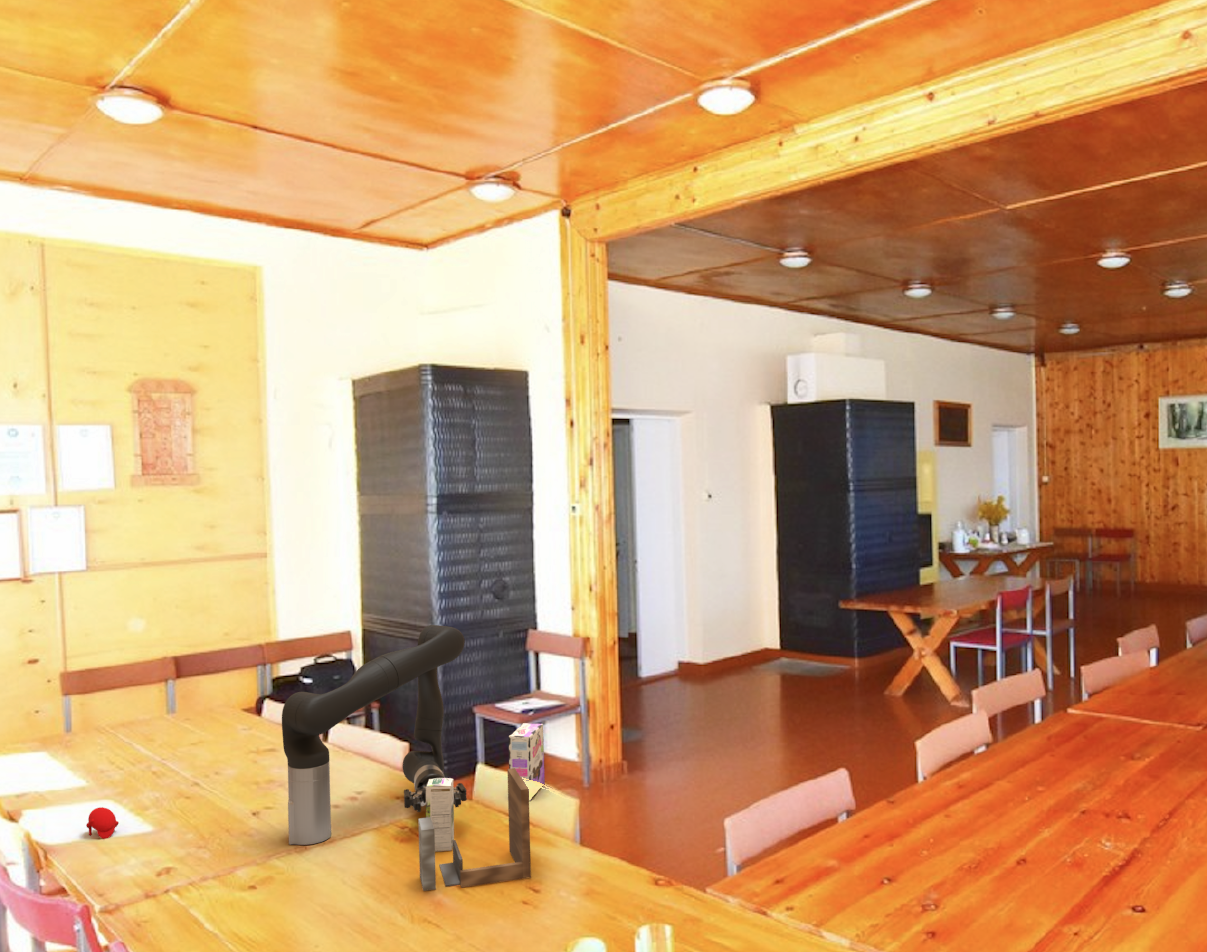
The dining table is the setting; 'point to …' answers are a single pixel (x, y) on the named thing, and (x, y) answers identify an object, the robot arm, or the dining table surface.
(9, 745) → the dining table surface
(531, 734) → the candy box
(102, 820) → the cap
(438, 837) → the syrup box
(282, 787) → the dining table surface
